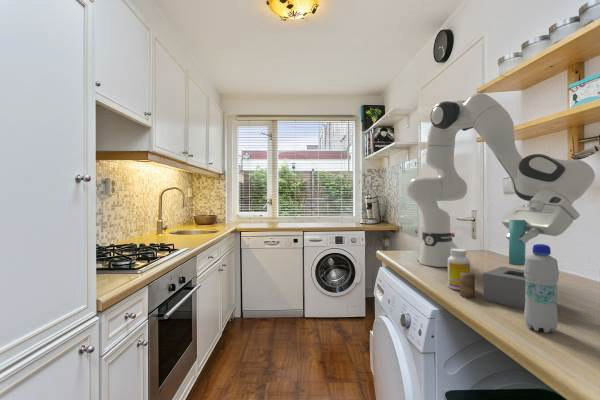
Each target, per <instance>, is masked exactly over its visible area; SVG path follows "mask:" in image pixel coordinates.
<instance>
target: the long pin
mask: <svg viewBox="0 0 600 400" xmlns="http://www.w3.org/2000/svg"><path fill="white" fill-rule="evenodd" d="M525 225H526V220H509V229H508V233H509V240H508V264H509V265H512V266H519V267H520V266H521V267H524V265H525V259H526V243H522V242H520V240H519V239H518V238H519V237H520V236H521V235H524V234H526V232H525Z"/></svg>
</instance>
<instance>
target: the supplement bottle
mask: <svg viewBox="0 0 600 400" xmlns="http://www.w3.org/2000/svg"><path fill="white" fill-rule="evenodd" d="M451 254H452V256H451V257H449V258H448V267H447V287H448V288H450V289H451V290H455V291H460V273H461V272H469V273H471V272H470V271H471V269H470V263H471V262H470V258H468V257H466V256H467V250H466V249H464V248H459V249H451Z"/></svg>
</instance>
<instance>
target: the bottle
mask: <svg viewBox="0 0 600 400" xmlns="http://www.w3.org/2000/svg"><path fill="white" fill-rule="evenodd" d="M551 251H552V250H551V247H550V245H548V244H543V243H539V244H538V243H537V244H534V245H533V246H532V254H529V255H527V256H525V265H524V266H523V269H522V270H524V276H525V278H526V281H525V310H524V309H523V310H524V311H523V313H524V314H523V316H524V322H525V325H526V327H527V328H528V329H531V330H532V329H533V330H534V331H535V332H539V331H540V329H543V332H544V334H546V333H547V334H548V333H554V332H555V331H556V330H557V327H558V323H559V321H558V308H557V303H558V301H557V299H558V298H557V296H558V292H557V290H558V287H557V286H558V285H557V284H558V281H559V280H560V278H559V275H560V270H559V265H558V264H559V263H558V260H557V258H555V257H553V256H552V255H551V253H552V252H551Z"/></svg>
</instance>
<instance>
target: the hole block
mask: <svg viewBox="0 0 600 400" xmlns="http://www.w3.org/2000/svg"><path fill="white" fill-rule="evenodd" d="M525 281H526V278H525V276H524V270H523V269H518V268H514V267H508V266H507V267H506V266H499V267H497V268H494V269H491V270H488V271H486V272H485V271H484V272H483V298H482V300H483V301H488V302H492V303H496V304H501V305H505V306H509V307H513V308H515V309H516V308H517V309H521V310H525Z"/></svg>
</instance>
